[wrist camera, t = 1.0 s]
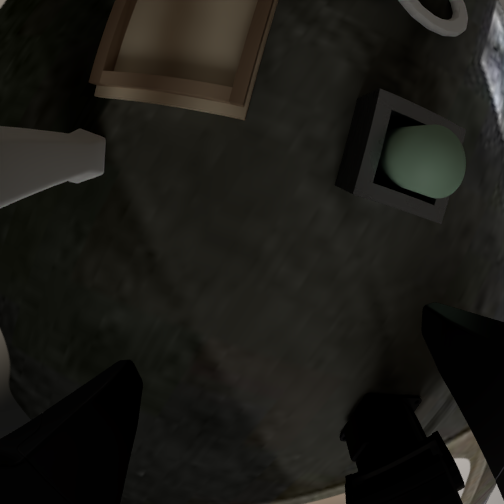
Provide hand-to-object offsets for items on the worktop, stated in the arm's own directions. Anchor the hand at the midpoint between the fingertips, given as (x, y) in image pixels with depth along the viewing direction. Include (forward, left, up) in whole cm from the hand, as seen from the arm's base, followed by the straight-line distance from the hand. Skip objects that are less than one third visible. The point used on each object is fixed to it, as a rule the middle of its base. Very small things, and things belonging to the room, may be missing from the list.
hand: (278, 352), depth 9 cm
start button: (-6, -7, -10) cm, 14 cm away
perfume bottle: (+14, -3, -13) cm, 19 cm away
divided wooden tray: (+8, -17, -13) cm, 23 cm away
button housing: (-6, -7, -13) cm, 16 cm away
